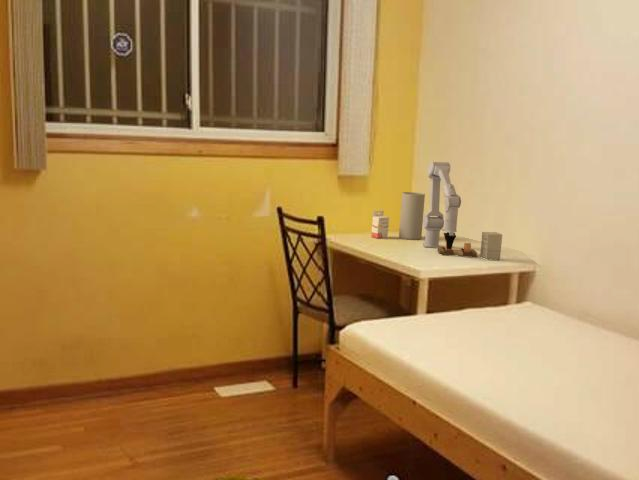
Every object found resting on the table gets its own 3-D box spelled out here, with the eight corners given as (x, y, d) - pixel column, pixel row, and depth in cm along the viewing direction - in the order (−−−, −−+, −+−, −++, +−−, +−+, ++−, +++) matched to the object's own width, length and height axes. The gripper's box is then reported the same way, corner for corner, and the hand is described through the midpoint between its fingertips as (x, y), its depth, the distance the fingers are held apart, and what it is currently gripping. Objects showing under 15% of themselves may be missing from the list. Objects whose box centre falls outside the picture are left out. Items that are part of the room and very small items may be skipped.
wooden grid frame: (437, 250, 340) (437, 246, 340) (473, 253, 339) (473, 249, 339) (439, 254, 328) (439, 250, 328) (476, 257, 327) (477, 253, 327)
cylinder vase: (417, 236, 385) (421, 192, 381) (424, 240, 372) (427, 195, 368) (396, 235, 383) (399, 191, 379) (402, 239, 371) (405, 194, 367)
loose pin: (444, 250, 333) (445, 238, 332) (451, 251, 332) (452, 239, 331) (445, 251, 329) (446, 239, 328) (451, 252, 329) (452, 240, 328)
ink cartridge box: (377, 238, 368) (379, 212, 366) (370, 237, 372) (372, 210, 370) (388, 237, 374) (390, 211, 372) (381, 236, 378) (383, 210, 375)
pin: (462, 254, 332) (464, 242, 331) (469, 255, 332) (470, 243, 331) (463, 256, 329) (464, 243, 328) (470, 256, 329) (471, 244, 328)
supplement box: (493, 257, 330) (496, 231, 328) (500, 260, 323) (502, 234, 321) (479, 257, 329) (481, 231, 327) (485, 260, 321) (488, 233, 319)
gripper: (441, 218, 336) (439, 245, 338) (444, 221, 322) (441, 250, 324) (455, 219, 335) (453, 246, 337) (459, 222, 321) (456, 251, 323)
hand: (448, 248), depth 331 cm, fingers closed on loose pin, 3 cm apart
